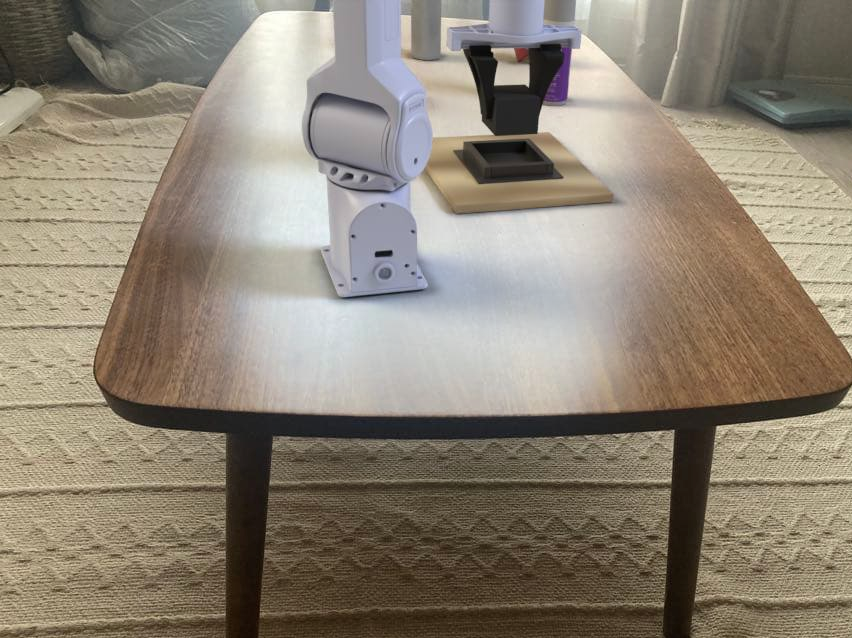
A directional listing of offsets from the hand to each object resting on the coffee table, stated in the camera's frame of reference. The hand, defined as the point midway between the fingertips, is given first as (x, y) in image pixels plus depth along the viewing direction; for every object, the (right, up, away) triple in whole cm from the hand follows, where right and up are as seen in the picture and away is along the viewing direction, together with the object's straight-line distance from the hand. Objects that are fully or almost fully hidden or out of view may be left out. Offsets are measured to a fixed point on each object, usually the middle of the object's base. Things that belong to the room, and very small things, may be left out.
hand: (510, 115), depth 104 cm
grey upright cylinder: (-14, +22, +41) cm, 49 cm away
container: (+5, +11, +28) cm, 30 cm away
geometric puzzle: (+2, +22, +43) cm, 48 cm away
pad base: (-1, -5, +4) cm, 7 cm away
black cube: (0, -1, +1) cm, 1 cm away
